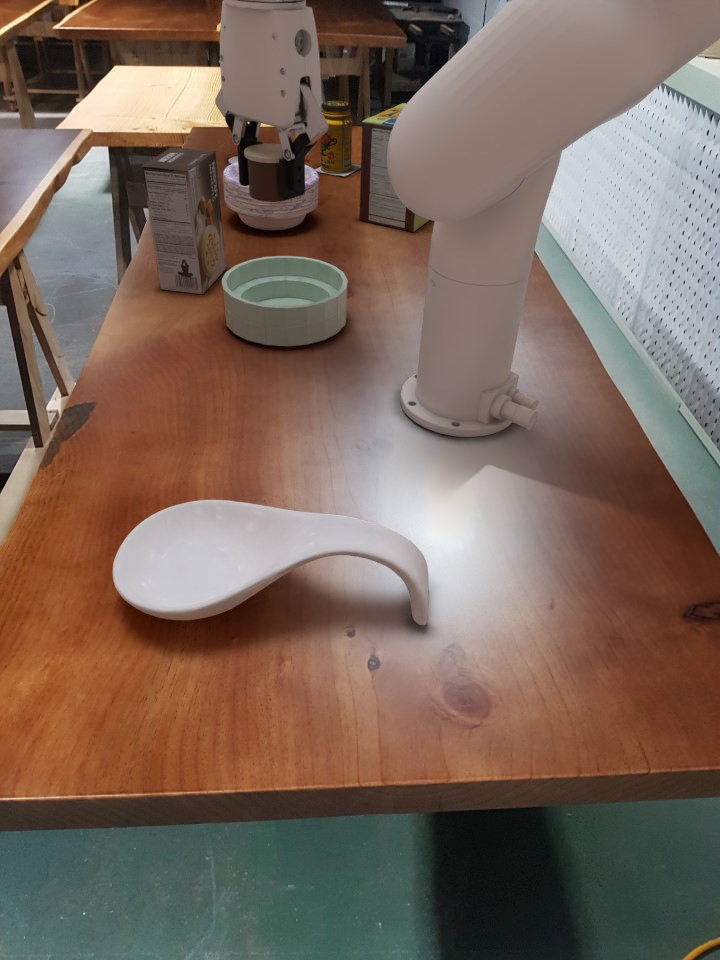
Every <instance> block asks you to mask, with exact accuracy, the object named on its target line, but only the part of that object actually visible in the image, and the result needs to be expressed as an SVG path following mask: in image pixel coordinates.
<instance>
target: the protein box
mask: <svg viewBox="0 0 720 960" xmlns="http://www.w3.org/2000/svg"><path fill="white" fill-rule="evenodd" d="M406 104H407V103H405V102H402V103H400V104H398V105H396V106H393V107H391V108H388V109H386V110H384V111H382V112H379V113H377V114H375V115H372V116H369V117H367V118H365V119H363V120H362V121H361V153H360V154H361V155H360V165H361V168H360V179H359V180H360V183H359V184H360V186H359V216H358V217H359V218H358V220H359V221H361V222H366V223H370V224H371V223H372V224H376V225H380V226H385V227H389V228H393V229H399V230H403V231H407V232H412V233H414V232H416V231H417V230H418V229H419V228H421V227H423V226H424V225H425V224H426V223H428V222H429V221H430V220H428V219H425V218H423V217H421V216H418V215H417V214H415V213H413V212H412V211H411V210H409V209H408V208H407V207H406V206H405V205H404V204H403V203H402V202H401V201H400V199H399V198H398V196H397V195H396V193H395V191H394V190H393V187H392V185H391V182H390V179H389V174H388V168H387V149H388V143H389V138H390V135H391V131H392V129H393V126H394V124H395V122H396V120H397V118H398V116H399V114H400V113H401V111H402V110H403V108H404V107H405V106H406Z"/></svg>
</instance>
